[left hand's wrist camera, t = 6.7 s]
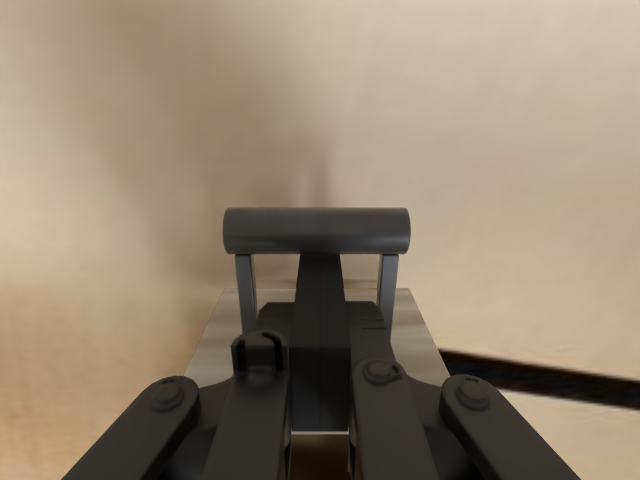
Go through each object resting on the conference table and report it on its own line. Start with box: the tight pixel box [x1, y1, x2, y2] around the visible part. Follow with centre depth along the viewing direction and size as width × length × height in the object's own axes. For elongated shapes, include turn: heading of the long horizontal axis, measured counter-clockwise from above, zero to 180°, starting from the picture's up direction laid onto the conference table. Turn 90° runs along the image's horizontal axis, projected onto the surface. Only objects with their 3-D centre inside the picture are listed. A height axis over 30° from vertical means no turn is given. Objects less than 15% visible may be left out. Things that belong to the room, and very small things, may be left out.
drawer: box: [184, 208, 450, 480], centre depth 18 cm, size 25×10×8 cm, turn 0°
